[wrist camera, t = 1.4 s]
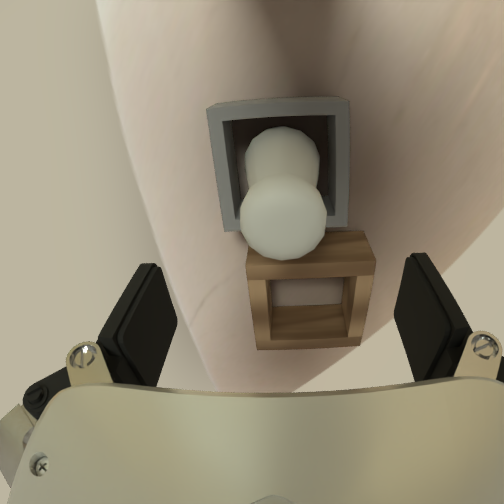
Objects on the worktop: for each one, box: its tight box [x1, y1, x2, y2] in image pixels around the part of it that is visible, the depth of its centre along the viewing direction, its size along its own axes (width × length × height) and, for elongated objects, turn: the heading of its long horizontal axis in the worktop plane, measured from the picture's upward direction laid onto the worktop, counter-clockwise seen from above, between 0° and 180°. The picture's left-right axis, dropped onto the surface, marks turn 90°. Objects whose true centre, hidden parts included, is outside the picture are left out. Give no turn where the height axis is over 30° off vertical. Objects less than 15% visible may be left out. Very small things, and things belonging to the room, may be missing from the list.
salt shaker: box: [240, 126, 327, 261], centre depth 20 cm, size 6×6×13 cm
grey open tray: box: [206, 97, 350, 232], centre depth 23 cm, size 10×10×4 cm
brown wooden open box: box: [245, 231, 376, 350], centre depth 30 cm, size 11×11×5 cm
